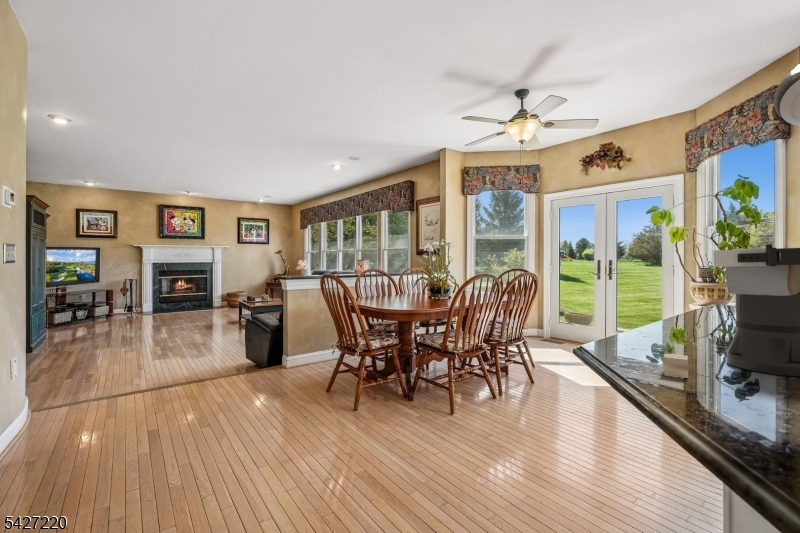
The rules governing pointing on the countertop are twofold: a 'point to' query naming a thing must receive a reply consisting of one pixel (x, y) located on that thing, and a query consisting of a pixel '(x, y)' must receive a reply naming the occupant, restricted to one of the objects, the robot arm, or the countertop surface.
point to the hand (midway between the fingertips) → (723, 258)
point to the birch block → (676, 365)
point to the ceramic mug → (764, 279)
